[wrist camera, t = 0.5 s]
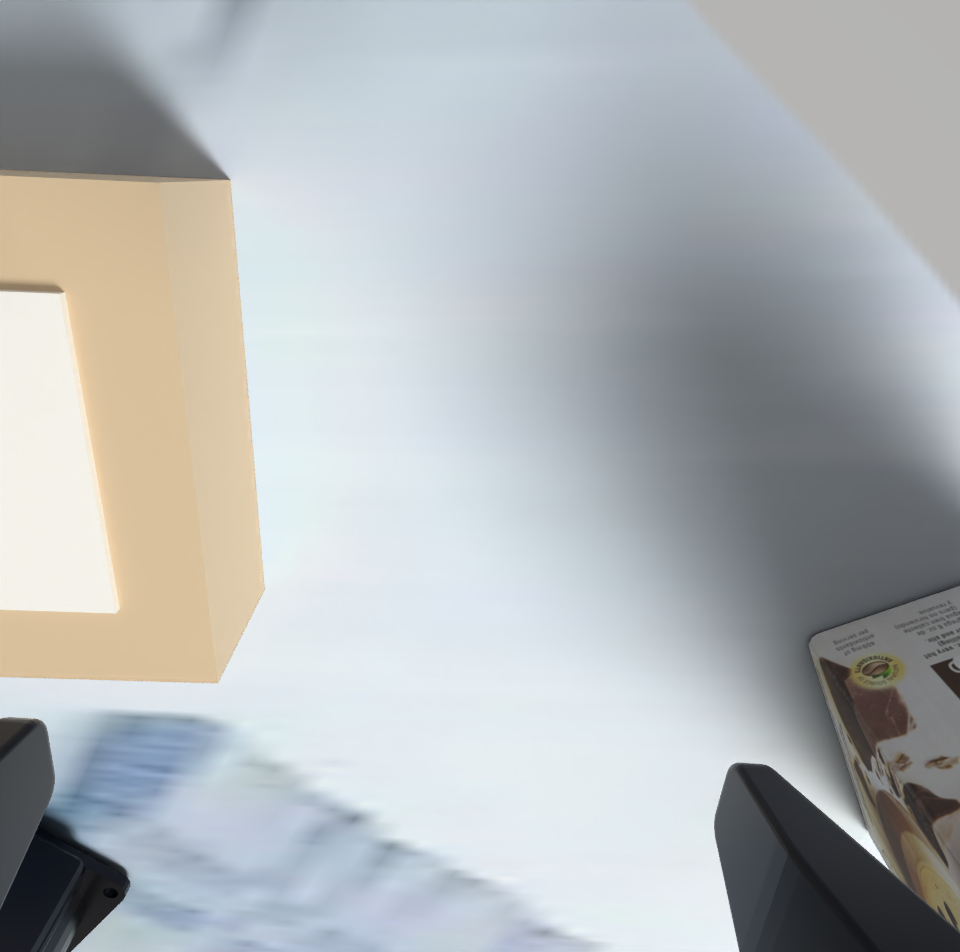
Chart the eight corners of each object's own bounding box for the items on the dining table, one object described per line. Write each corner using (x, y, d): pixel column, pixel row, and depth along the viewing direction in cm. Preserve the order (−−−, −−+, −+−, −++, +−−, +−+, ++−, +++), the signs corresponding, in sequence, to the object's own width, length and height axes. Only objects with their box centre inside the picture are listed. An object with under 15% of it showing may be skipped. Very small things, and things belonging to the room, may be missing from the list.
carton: (235, 179, 17) (153, 182, 13) (267, 584, 21) (215, 688, 17) (-155, 161, 17) (-371, 159, 13) (-44, 573, 21) (-177, 676, 17)
